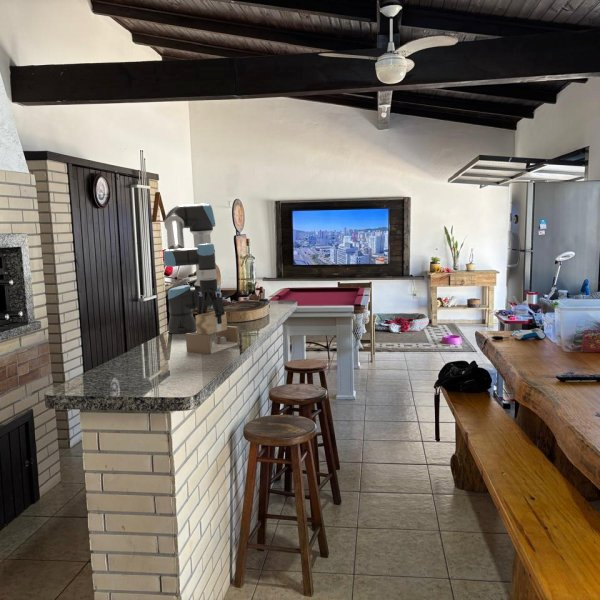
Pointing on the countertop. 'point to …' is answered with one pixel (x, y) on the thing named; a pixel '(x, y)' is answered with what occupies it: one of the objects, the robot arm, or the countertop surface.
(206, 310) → the robot arm
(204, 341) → the peg stand
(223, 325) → the shelf block
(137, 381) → the countertop surface
